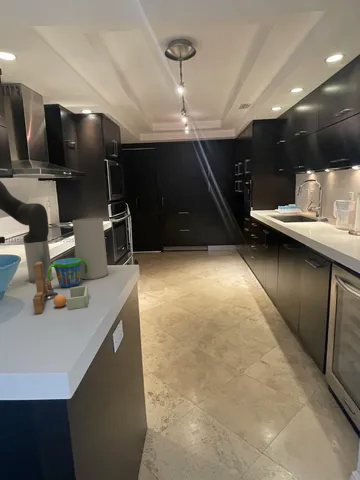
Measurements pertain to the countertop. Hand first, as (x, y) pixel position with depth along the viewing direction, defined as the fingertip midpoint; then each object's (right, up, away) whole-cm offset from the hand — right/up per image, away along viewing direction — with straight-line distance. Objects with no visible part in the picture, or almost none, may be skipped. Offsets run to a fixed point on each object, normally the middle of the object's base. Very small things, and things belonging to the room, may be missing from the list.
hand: (2, 241), depth 93 cm
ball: (+17, -19, +2) cm, 26 cm away
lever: (+10, -21, +6) cm, 24 cm away
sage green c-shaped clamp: (+22, -21, +6) cm, 31 cm away
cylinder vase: (+18, -16, +37) cm, 44 cm away
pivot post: (+9, -20, +13) cm, 25 cm away
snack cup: (+12, -18, +26) cm, 34 cm away
